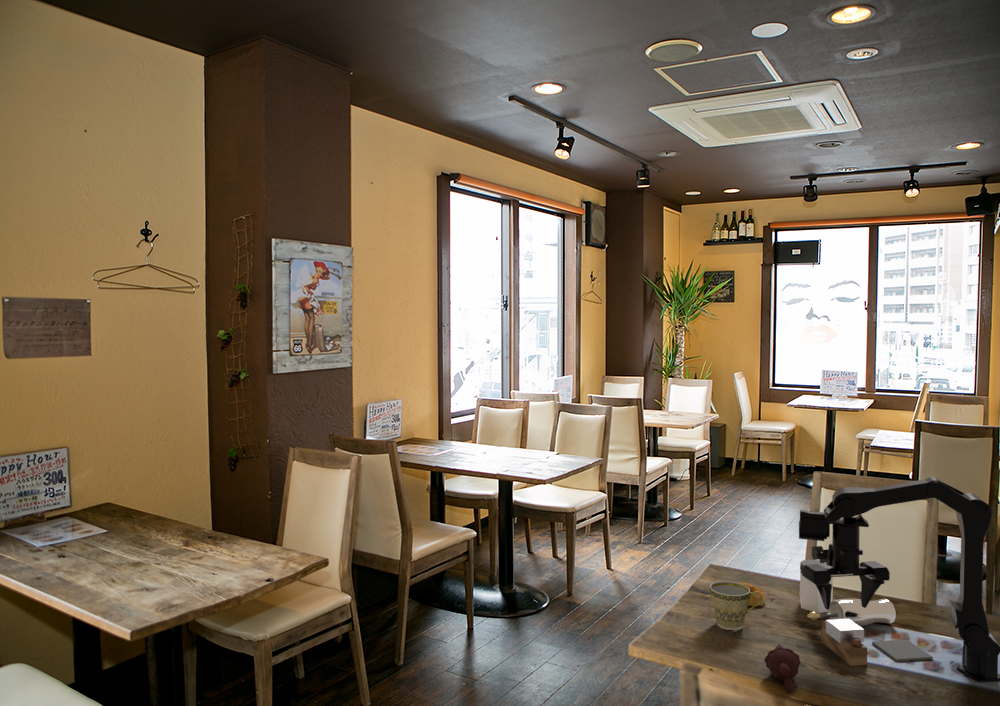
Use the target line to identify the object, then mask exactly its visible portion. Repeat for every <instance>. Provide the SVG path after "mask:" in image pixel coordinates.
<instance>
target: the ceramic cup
mask: <svg viewBox="0 0 1000 706" xmlns="http://www.w3.org/2000/svg"><path fill="white" fill-rule="evenodd" d="M709 591H710V592H709V594H710V598H711V601H712V605H713V608H714V615H715V622H716V626H717V625H718V626H720V627H722V628H724V629H727V630H739V629H742V628H743V629H744V625H745V620H746V615H748V613H750V611H752V610H753V609H754V608H755V607H758V606H757V605H758V604H760V603H761V602H762V596H761V594H760V593H758V592H752V593H750V589H749V588H748V587H747V586H745V585H743V584H740V582H737V581H727V580H726V581H725V580H720V581H714V582H712V583H710V585H709ZM754 595H759V596H760V597H761V600H760V601H759V602H758V603H756V604H754V605H753V606H750V608H748V606H747V605H748V602H749V600H750V599H751V597H752V596H754ZM743 629H742V630H743ZM739 631H740V630H739Z"/></svg>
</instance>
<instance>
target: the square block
mask: <svg viewBox="0 0 1000 706" xmlns="http://www.w3.org/2000/svg"><path fill="white" fill-rule="evenodd" d="M826 633H828V634H829V635H830V636H831V637H833V638H834V639H835V640H837V641H838V642H839V643H851V638H859V639H861V643H864V642H865V629H864V628H863V627H862V626H859V625H857V624H856V623H854V622H853V621H851V620H850V619H832V620H826Z"/></svg>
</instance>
